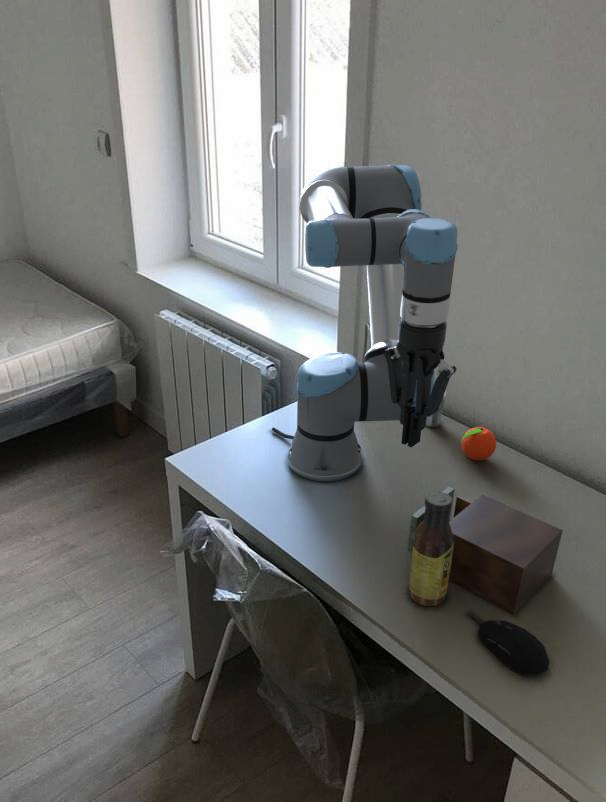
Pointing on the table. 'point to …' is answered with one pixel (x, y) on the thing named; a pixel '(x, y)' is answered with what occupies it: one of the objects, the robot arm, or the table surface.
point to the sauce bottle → (432, 552)
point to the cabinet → (502, 552)
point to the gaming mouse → (514, 646)
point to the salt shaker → (436, 415)
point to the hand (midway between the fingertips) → (410, 442)
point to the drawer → (419, 515)
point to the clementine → (478, 443)
